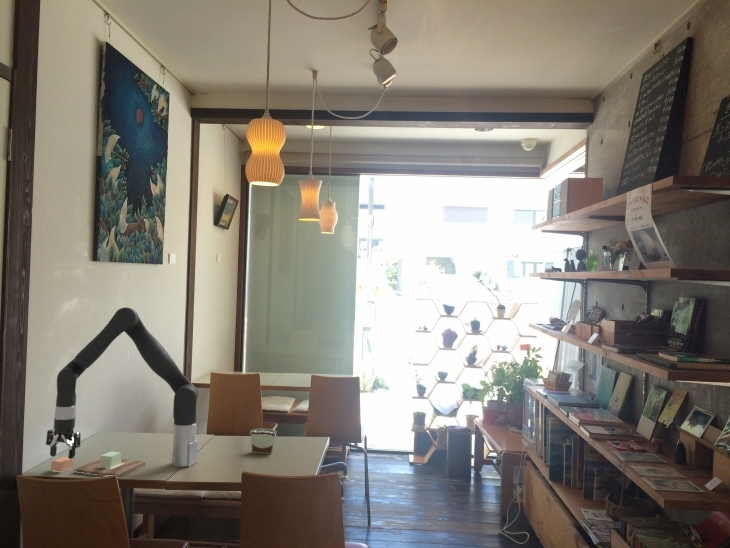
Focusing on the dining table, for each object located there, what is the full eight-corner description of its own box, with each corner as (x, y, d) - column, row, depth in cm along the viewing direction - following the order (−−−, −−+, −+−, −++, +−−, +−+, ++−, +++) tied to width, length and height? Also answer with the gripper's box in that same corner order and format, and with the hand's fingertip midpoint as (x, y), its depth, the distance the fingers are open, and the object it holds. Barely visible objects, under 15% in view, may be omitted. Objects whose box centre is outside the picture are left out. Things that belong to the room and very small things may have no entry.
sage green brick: (120, 463, 219) (121, 452, 219) (110, 468, 213) (111, 456, 214) (110, 462, 220) (111, 451, 221) (100, 466, 215) (100, 455, 215)
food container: (278, 450, 251) (279, 428, 251) (274, 454, 245) (275, 432, 245) (253, 448, 252) (253, 427, 253) (249, 452, 246) (249, 430, 246)
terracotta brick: (73, 469, 216) (73, 458, 216) (60, 473, 210) (61, 462, 210) (63, 467, 217) (64, 456, 217) (50, 472, 212) (51, 460, 212)
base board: (144, 465, 223) (145, 461, 223) (118, 478, 206) (118, 474, 207) (103, 460, 227) (103, 456, 227) (74, 473, 211) (74, 469, 211)
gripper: (86, 416, 217) (84, 456, 216) (57, 413, 220) (54, 452, 219) (73, 420, 210) (70, 461, 209) (42, 417, 213) (39, 457, 212)
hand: (62, 457), depth 214 cm, fingers open, 8 cm apart
